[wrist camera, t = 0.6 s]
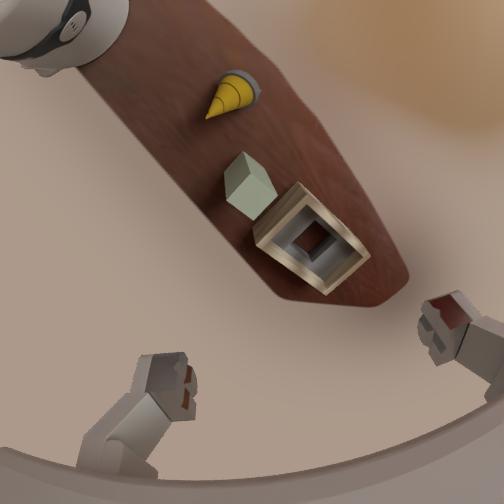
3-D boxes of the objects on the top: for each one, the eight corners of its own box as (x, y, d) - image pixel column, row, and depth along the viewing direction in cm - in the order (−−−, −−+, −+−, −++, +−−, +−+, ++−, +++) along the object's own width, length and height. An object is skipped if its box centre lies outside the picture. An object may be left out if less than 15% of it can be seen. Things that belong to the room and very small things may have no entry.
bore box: (251, 227, 46) (255, 245, 42) (297, 181, 42) (307, 194, 38) (317, 277, 53) (326, 295, 49) (359, 239, 49) (371, 256, 45)
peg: (223, 172, 40) (226, 200, 32) (242, 150, 39) (250, 173, 31) (245, 188, 42) (253, 220, 34) (264, 168, 41) (277, 195, 32)
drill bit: (266, 101, 36) (224, 144, 32) (232, 85, 36) (186, 125, 32) (274, 70, 31) (229, 110, 27) (237, 55, 31) (186, 91, 27)
